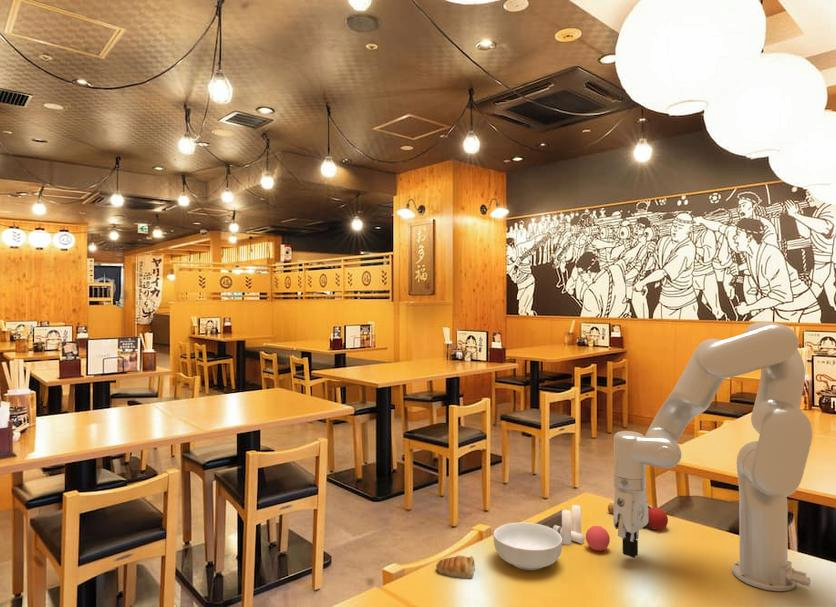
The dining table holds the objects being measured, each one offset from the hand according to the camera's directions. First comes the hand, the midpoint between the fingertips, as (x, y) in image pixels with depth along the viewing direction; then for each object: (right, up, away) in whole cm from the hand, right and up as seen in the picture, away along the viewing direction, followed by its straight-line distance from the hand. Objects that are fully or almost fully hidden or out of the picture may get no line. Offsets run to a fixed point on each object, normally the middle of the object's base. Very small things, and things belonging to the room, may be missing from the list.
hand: (630, 554), depth 136 cm
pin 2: (-10, -2, +14) cm, 17 cm away
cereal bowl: (-26, -2, 0) cm, 26 cm away
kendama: (+11, -2, +24) cm, 26 cm away
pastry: (-43, -3, -5) cm, 44 cm away
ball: (-6, +1, +6) cm, 9 cm away
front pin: (-9, 0, +10) cm, 13 cm away
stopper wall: (-16, -2, +17) cm, 24 cm away
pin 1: (-13, -2, +10) cm, 17 cm away
